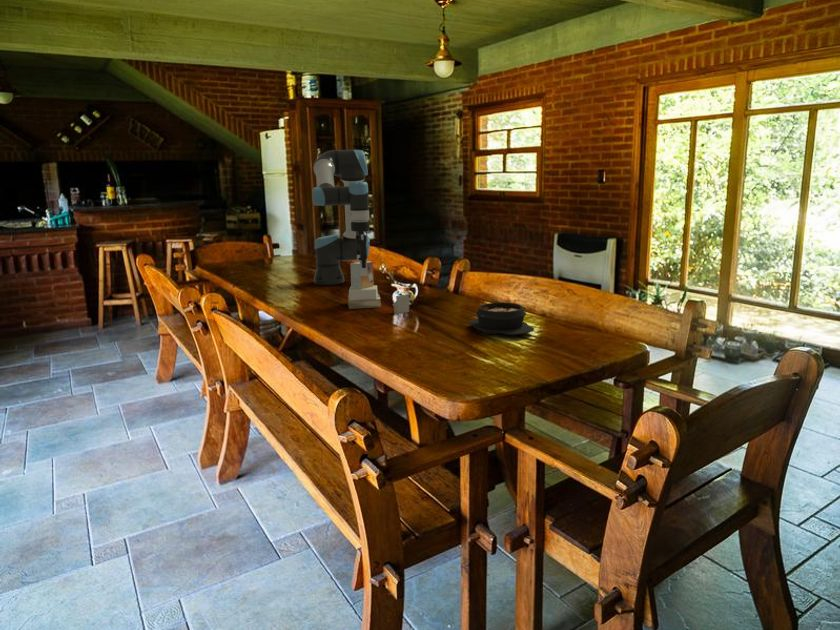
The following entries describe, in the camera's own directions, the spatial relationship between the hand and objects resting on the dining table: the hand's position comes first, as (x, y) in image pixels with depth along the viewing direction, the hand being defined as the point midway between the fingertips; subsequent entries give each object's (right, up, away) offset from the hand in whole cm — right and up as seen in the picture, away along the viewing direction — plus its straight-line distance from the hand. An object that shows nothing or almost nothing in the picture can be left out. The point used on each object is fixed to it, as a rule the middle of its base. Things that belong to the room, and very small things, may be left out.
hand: (362, 273), depth 247 cm
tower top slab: (0, -10, +1) cm, 10 cm away
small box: (0, -6, +1) cm, 6 cm away
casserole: (+51, -23, -42) cm, 70 cm away
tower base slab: (+1, -14, +2) cm, 14 cm away
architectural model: (+17, -17, -12) cm, 27 cm away
